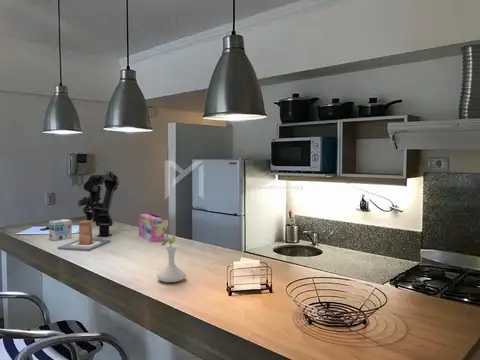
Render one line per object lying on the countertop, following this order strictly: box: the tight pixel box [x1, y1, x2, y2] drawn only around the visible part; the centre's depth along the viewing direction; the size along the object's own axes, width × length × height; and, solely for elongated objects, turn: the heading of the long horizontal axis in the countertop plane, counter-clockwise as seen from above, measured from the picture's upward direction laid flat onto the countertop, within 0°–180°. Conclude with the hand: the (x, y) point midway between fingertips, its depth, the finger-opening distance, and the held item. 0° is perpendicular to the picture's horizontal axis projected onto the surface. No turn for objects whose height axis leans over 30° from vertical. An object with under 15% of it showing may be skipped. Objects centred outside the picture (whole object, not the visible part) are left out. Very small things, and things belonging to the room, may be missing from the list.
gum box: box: [138, 212, 165, 243], centre depth 240 cm, size 24×8×14 cm, turn 33°
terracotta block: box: [78, 220, 93, 245], centre depth 213 cm, size 5×5×13 cm
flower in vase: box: [155, 219, 187, 283], centre depth 159 cm, size 13×11×25 cm
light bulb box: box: [48, 218, 73, 241], centre depth 234 cm, size 11×7×11 cm, turn 143°
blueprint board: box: [57, 238, 111, 252], centre depth 218 cm, size 22×18×2 cm
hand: (91, 222), depth 224 cm, fingers open, 9 cm apart
